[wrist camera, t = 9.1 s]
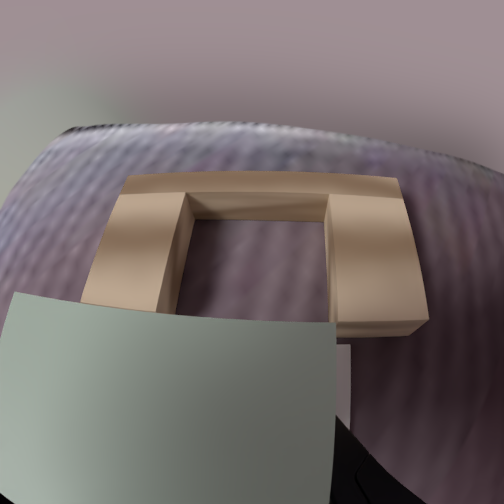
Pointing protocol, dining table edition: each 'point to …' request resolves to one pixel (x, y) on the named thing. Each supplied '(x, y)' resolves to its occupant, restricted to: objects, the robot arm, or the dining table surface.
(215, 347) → the mint green pillar
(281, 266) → the dining table surface
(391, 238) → the stand
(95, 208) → the dining table surface
